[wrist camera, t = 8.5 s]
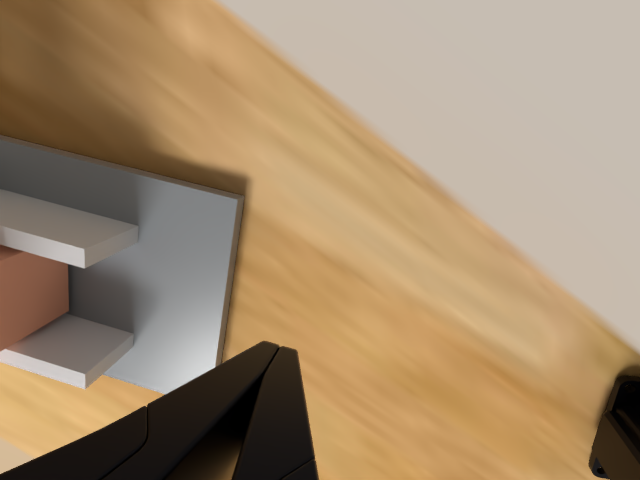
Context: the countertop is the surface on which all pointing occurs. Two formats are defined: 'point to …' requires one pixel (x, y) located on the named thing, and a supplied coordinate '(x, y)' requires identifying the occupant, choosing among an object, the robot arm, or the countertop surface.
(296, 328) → the countertop surface
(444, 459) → the countertop surface
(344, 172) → the countertop surface
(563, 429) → the countertop surface
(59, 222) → the test rig
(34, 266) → the plug
